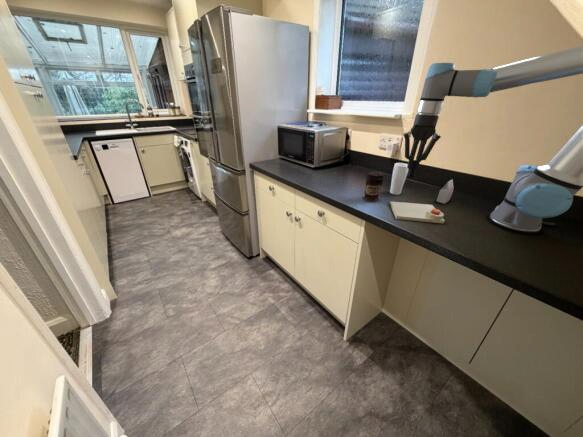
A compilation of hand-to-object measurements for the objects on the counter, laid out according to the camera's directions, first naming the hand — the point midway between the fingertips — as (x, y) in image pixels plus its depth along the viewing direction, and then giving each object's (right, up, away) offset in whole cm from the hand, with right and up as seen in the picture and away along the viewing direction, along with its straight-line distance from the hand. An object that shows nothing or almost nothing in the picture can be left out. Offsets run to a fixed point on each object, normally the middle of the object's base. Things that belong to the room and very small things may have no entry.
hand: (409, 176), depth 96 cm
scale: (+4, -15, +4) cm, 16 cm away
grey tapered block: (+24, -9, +16) cm, 30 cm away
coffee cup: (-10, -8, +17) cm, 21 cm away
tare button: (+9, -16, -2) cm, 18 cm away
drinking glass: (+4, -5, +24) cm, 25 cm away
